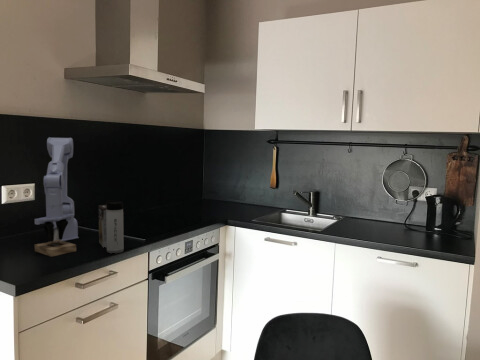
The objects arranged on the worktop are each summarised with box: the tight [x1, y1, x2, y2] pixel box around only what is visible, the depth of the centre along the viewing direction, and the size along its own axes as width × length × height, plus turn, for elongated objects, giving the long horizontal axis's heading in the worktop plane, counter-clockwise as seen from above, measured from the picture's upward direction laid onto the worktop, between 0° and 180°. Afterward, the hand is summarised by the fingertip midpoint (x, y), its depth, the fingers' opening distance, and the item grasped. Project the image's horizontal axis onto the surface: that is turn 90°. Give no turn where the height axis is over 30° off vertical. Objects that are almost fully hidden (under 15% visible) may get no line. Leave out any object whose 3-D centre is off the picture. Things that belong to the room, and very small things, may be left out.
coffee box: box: [98, 204, 107, 248], centre depth 164 cm, size 9×6×16 cm
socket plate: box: [34, 240, 77, 258], centre depth 154 cm, size 10×12×2 cm
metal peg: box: [50, 227, 60, 247], centre depth 154 cm, size 3×3×8 cm
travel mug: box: [105, 199, 125, 254], centre depth 154 cm, size 6×7×20 cm
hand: (55, 240), depth 154 cm, fingers closed on metal peg, 3 cm apart
